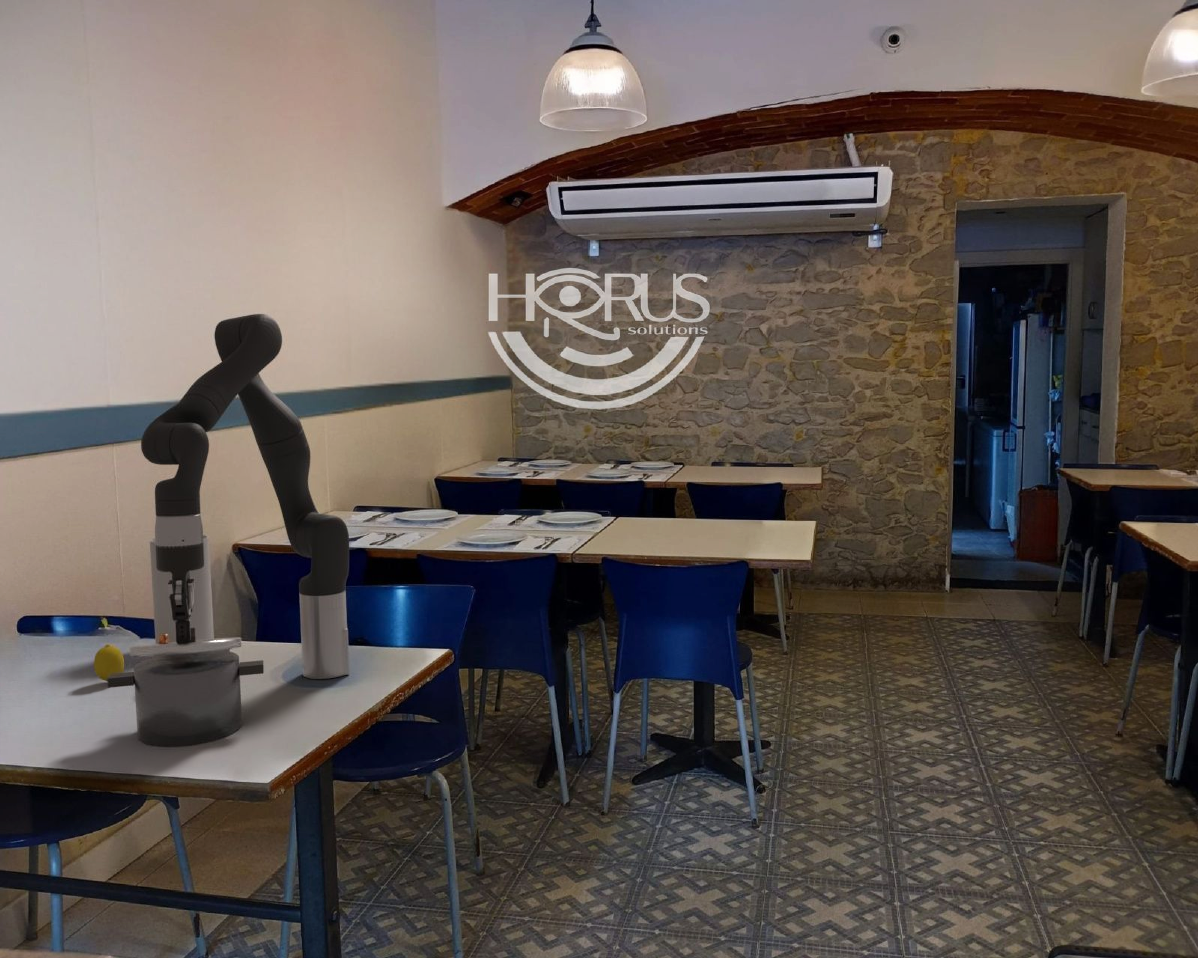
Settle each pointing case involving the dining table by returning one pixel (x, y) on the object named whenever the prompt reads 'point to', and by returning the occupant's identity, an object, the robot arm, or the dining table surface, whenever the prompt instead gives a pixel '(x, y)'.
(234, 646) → the cooker lid
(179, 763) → the dining table surface
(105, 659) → the lemon
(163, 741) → the cooker pot
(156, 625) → the cylinder vase
